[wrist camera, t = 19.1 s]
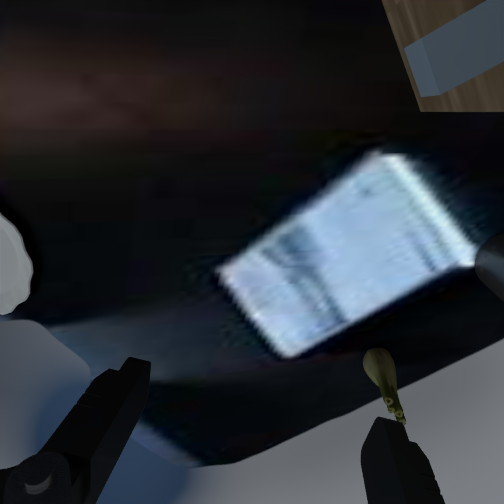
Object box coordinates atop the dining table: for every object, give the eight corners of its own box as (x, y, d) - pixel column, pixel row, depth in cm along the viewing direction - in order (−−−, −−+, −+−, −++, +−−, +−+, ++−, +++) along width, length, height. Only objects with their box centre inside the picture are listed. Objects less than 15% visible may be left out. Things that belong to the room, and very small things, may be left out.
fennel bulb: (389, 369, 59) (411, 428, 48) (360, 369, 60) (375, 427, 49) (391, 342, 57) (414, 398, 46) (361, 342, 57) (376, 397, 46)
